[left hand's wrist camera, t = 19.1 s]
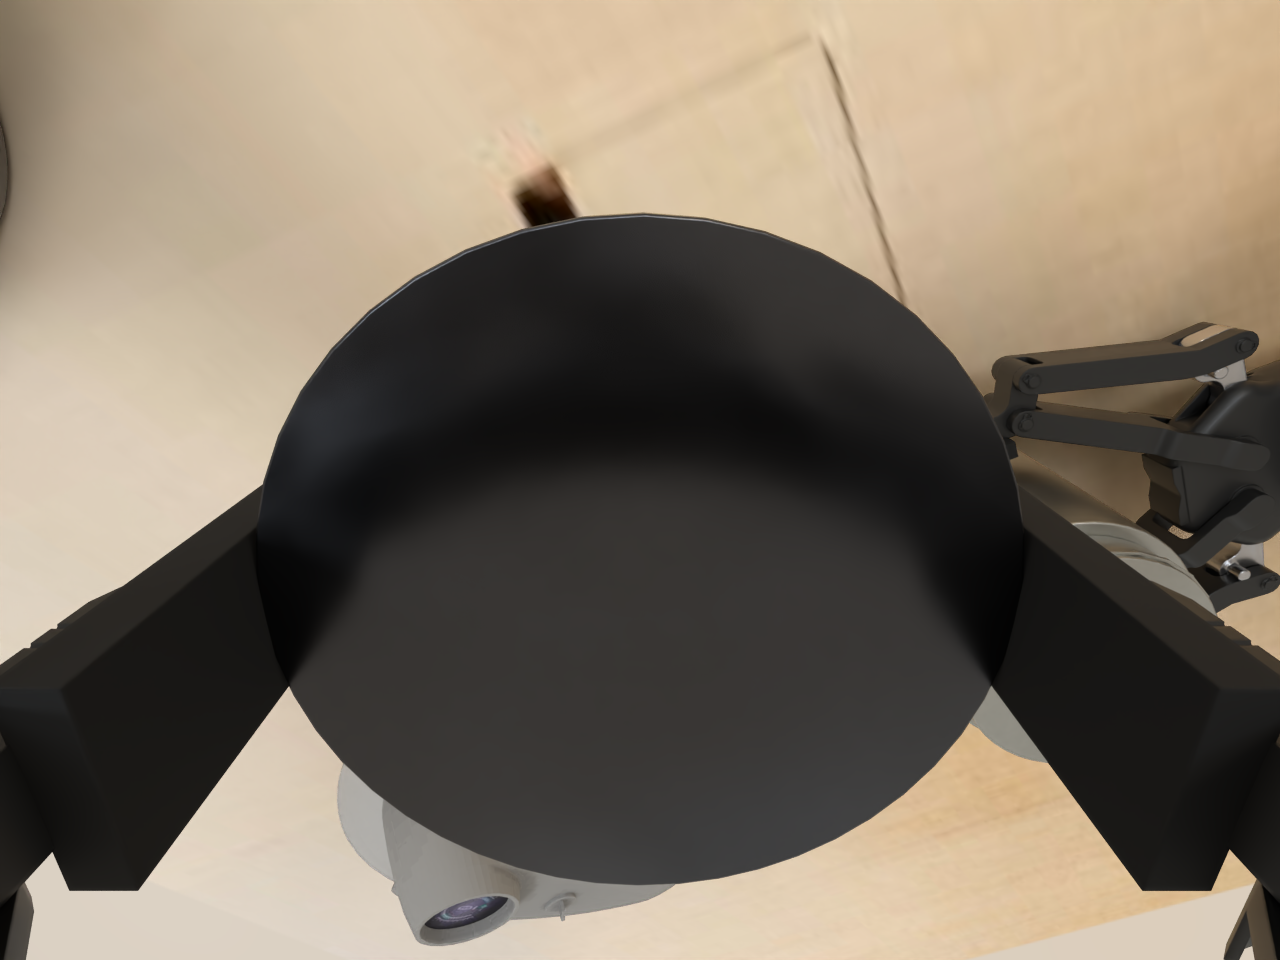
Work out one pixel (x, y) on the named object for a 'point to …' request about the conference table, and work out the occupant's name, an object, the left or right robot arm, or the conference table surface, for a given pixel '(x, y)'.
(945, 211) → the conference table surface
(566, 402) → the lid
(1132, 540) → the jar
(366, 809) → the projector
